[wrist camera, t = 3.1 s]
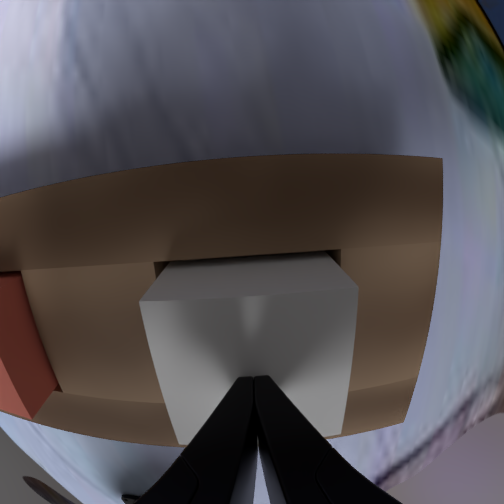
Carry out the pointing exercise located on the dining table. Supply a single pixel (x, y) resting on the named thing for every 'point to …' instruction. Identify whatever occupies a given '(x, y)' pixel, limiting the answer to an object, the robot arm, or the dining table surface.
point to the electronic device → (495, 15)
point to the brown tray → (221, 246)
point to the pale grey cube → (252, 333)
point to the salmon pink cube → (21, 352)
